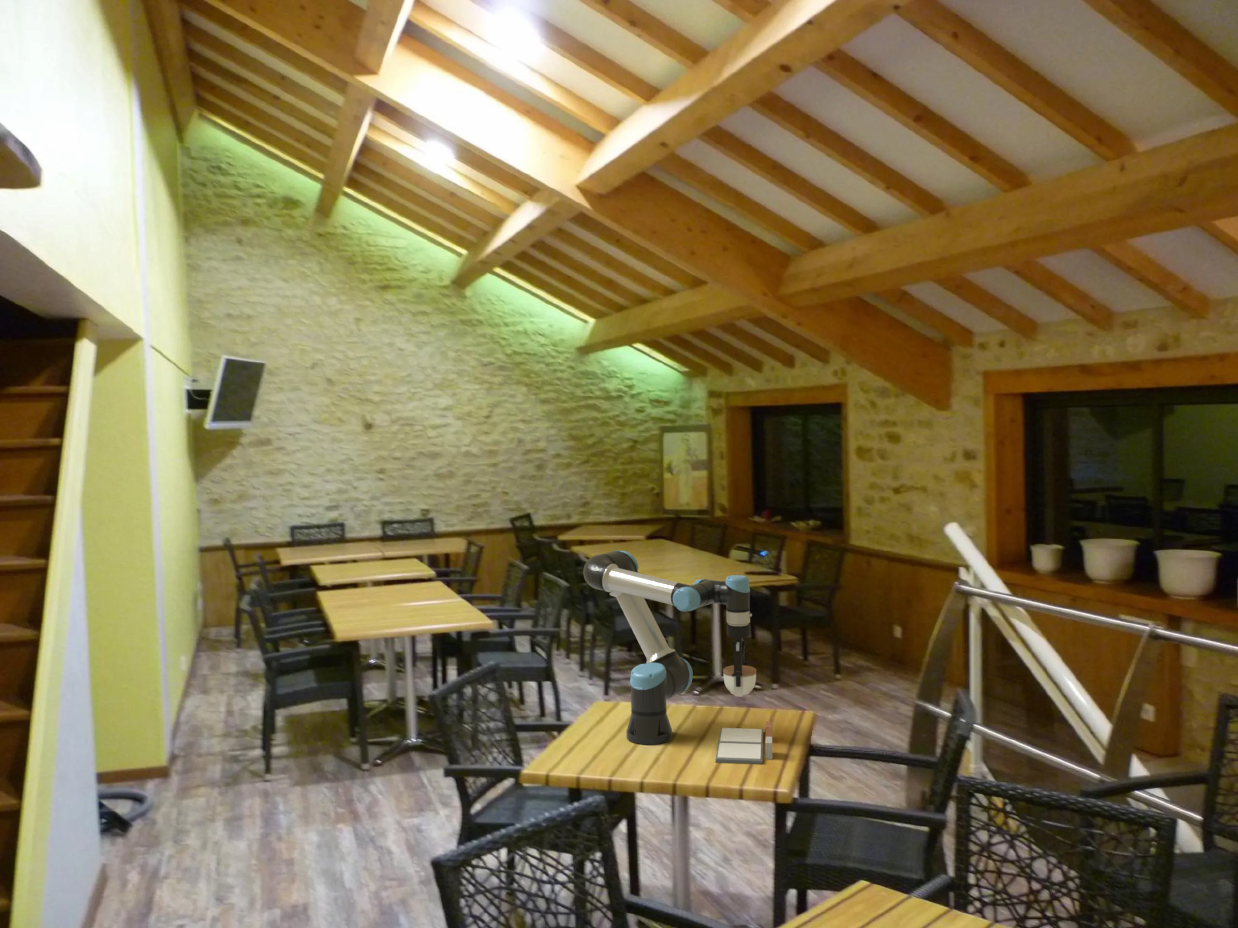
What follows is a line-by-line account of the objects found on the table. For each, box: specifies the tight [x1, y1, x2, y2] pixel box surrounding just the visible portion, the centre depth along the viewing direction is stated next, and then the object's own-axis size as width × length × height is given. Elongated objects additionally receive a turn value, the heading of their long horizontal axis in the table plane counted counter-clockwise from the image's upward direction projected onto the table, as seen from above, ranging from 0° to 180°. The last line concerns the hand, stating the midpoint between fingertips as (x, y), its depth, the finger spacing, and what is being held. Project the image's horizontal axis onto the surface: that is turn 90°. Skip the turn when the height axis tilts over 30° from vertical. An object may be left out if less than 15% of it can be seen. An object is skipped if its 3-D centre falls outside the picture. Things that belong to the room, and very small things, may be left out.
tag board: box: [715, 721, 773, 765], centre depth 302 cm, size 17×30×5 cm, turn 171°
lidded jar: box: [722, 664, 757, 696], centre depth 308 cm, size 11×11×9 cm
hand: (739, 691), depth 308 cm, fingers closed on lidded jar, 11 cm apart
